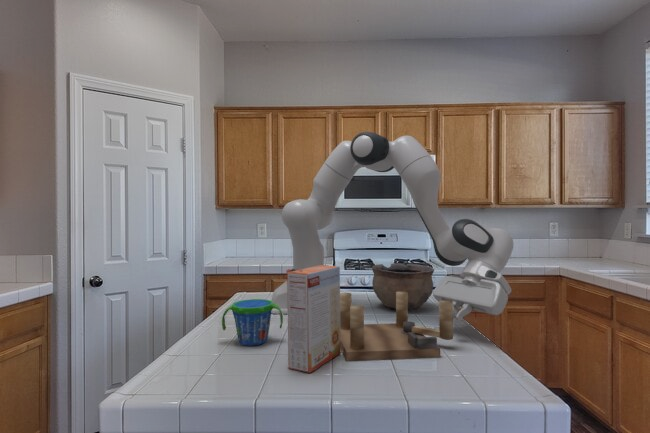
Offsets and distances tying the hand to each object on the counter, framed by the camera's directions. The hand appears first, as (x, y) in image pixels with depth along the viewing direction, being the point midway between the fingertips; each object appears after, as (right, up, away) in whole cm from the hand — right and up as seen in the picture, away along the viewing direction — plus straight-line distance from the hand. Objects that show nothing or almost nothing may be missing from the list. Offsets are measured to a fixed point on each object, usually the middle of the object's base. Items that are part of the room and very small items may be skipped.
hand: (454, 318), depth 99 cm
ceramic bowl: (-6, -7, +38) cm, 39 cm away
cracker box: (-36, -6, -13) cm, 39 cm away
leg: (-8, -3, -2) cm, 8 cm away
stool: (-19, -6, -2) cm, 20 cm away
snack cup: (-53, -6, 0) cm, 53 cm away
